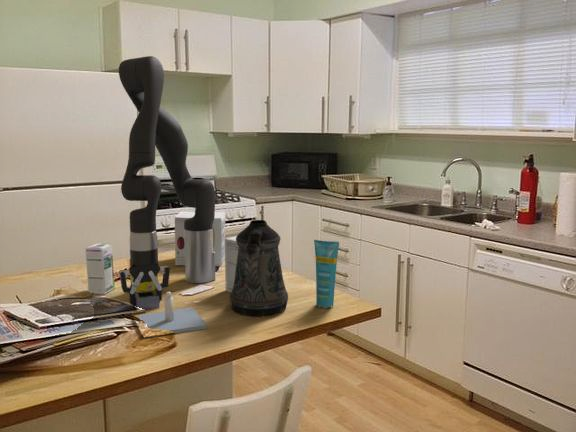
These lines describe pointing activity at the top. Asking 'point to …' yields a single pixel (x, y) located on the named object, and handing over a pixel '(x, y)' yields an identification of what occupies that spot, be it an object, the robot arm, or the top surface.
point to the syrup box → (100, 268)
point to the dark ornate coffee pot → (258, 273)
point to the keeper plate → (174, 318)
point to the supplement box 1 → (144, 284)
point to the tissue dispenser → (147, 299)
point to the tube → (325, 271)
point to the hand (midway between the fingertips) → (145, 303)
